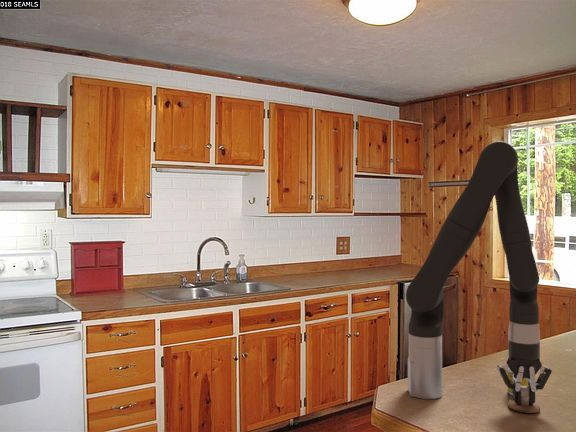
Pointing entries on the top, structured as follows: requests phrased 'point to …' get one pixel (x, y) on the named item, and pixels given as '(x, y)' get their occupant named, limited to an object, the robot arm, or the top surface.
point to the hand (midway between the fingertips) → (524, 404)
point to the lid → (524, 402)
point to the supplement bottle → (510, 375)
